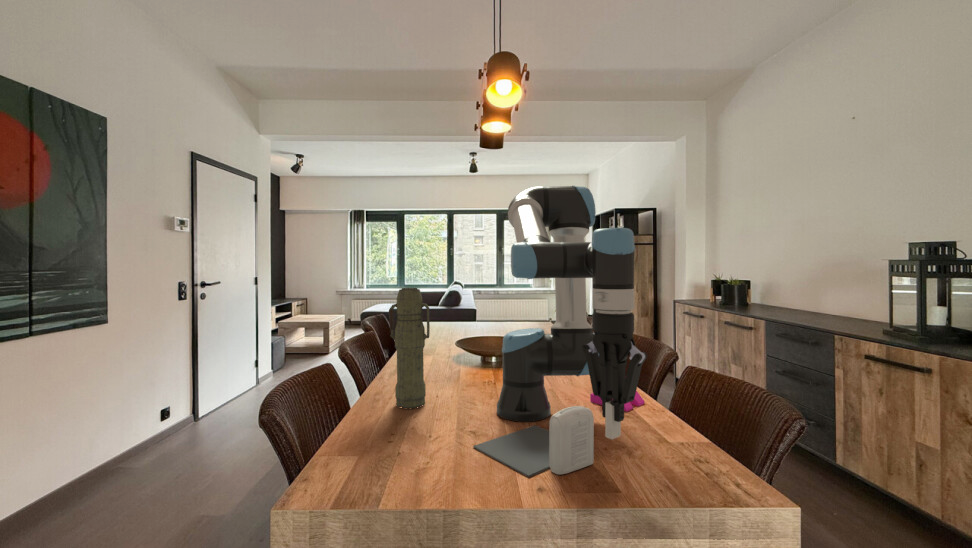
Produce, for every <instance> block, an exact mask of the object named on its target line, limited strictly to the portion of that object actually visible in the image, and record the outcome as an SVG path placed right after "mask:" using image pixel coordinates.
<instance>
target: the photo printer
mask: <svg viewBox="0 0 972 548" xmlns="http://www.w3.org/2000/svg"><path fill="white" fill-rule="evenodd" d="M593 413H594V412H593V411H592V410H591V409H590V408H588V407H586V406H582V405H573V406H569V407H565V408H563V409H560V410H558V411H557V412H555V413H554V414H552V416H551V417H550V419H549V422H548V423H549V425H548V426H549V428H548V430H549V466H550V468H549V469H550V471H551V473H553V474H555V475H560V476H561V475H565V474H569V473H573V472H575V471H578V470H581V469H583V468H586V467H588V466H591V465H593V464H594V460H595V459H594V458H595V457H594V452H595V448H594V446H595V445H594V443H595V442H594V441H595V440H594V439H595V436H594V435H595V434H594V429H595V427H594V426H595V417H594V414H593Z"/></svg>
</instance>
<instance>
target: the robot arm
mask: <svg viewBox="0 0 972 548" xmlns="http://www.w3.org/2000/svg"><path fill="white" fill-rule="evenodd" d="M596 211H597V210H596V203H595V199H594V196H593V193H592V192H591V190H590V188H588V187H586V186H576V185H570V186H569V185H567V186H566V185H565V186H561V185H560V186H557V185H556V186H555V185H554V186H542V185H541V186H532V187H529V188H526V189H525V190H523V191H521V192H520V193H518V194H517V195H516V196H514V198H513V199H511V201H510V203H509V206H508V208H507V218H508V222H509V223H510V225H511V227H512V228H513V230H514V234H515V238H516V239H515V240H516V242H515V243H512V245H511V248H510V269H511V275H512V276H513V277H514V278H517V279H527V280H532V279H554V283H555V284H554V291H555V293H554V294H555V295H554V297H555V322H554V323H553V324H552V325H551V327H550V333H545V330H544V329H543V328H539V327H536V328H534V327H532V328H531V327H530V328H521V329H516V330H512V331H509V332H507V333H505V335H504V336H503V338H502V348H501V353H502V387H501V391H500V395H499V399H498V401H497V402H496V414H497V415H498V417H500V418H503V419H506V420H508V421H514V422H521V423H523V422H537V421H542V420H545V419H547V418H548V417H550V415H551V409H552V408H551V404H550V401H549V399H548V394H547V391H546V387H545V377H548V376H549V377H551V376H552V377H554V376H555V377H556V376H557V377H558V376H563V377H564V376H567V377H569V376H576V377H580V376H589V379H590V383H591V384H590V385H591V390H592V393H593V394H594V395H595V396H599V397H600V398H601V400H602V405H601V407H602V408H601V409H602V410H601V412H602V418H605V427H604V428H605V433H604V435H605V438H607V439H609V440H615V439H617V438H619V437H621V435H622V434H621V433H622V431H621V430H622V429H621V427H622V425H621V423H622V422H623V421H624V420H625V411H624V404H626V403H628V402H631V401H633V400H634V398H635V394H636V391H637V389H638V384H639V380H640V375H641V371H642V368H643V364H644V362H646V360H647V359H648V353H647V352H645V351H643V352H642V351H641V350H640V349H638V347H637V346H636V342H635V340H634V332H635V314H634V313H633V312H632V311H633V310H634V309H635V251H636V245H635V237H634V236H635V235H634V231H633V230H632V229H631V228H627V227H611V228H609V227H608V228H607V227H606V228H604V227H603V228H598V229H597V228H596V229H594V230H593V233H592V237H591V241H590V242H589V241H588V242H587V241H585V237H586V236H587V235H588V234H589V233H590V227H593V226H594V225H595V222H596ZM547 228H548V231H547ZM549 235H550V237H552V239H553V241H551V239H550V237H549ZM586 279H592V288H591V289H592V306H591V307H592V309H594V310H595V311H594V312H593V313H592V317H591V319H592V320H591V321H592V325H591V324H590V323H589V322H588V320H587V318H588V317H587V292H586V291H587V290H586V289H587V288H586V287H587V285H586ZM628 358H629V360H630V361H629V363H628ZM627 365H628V367H627ZM626 367H627V369H626Z"/></svg>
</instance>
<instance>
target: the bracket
mask: <svg viewBox="0 0 972 548" xmlns="http://www.w3.org/2000/svg"><path fill="white" fill-rule="evenodd" d="M589 395H590V397H589V398H590V403H594V404H597V405H601V406H602V400H601V398H600V397H599V396H595V395H594V394H593V392H591V393H590V394H589ZM644 404H645V400H644V399H643V397H642V396H641V395H640V393H639V392H638V391H637V390H636V394H635V398H634V400H633V401H631V402H628V403H626V404H624V412H626V413H627V412H629V411H631V410H633V409H634V406H637V407H640V406H643V405H644Z"/></svg>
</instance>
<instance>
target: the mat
mask: <svg viewBox="0 0 972 548" xmlns="http://www.w3.org/2000/svg"><path fill="white" fill-rule="evenodd" d="M473 447H474V448H473ZM472 448H473V449H475V448H476V449H475V450H477V451H479V452H480V451H481V454H482V453H483V454H484V455H486V456H488V457H490V458H492V459H494V461H495V460H496V461H497V462H499V463H500V464H503V465H505V466H506V467H508V468H509V469H512V470H514V471H516V472H518V473H520V474H521V475H523V476H525V477H527V478H530V477H533V476H535V475H537V474H539V473H543V472H544V471H547V470H550V469H551V468H550V466H549V429H546V428H543V427H541V426H538V425H536V424H535V425H531V426H528V427H525V428H522V429H519V430H517V431H513V432H510V433H507V434H504V435H502V436H498V437H496V438H492V439H490V440H487V441H484V442H481V443H478V444H475V445H472Z"/></svg>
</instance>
